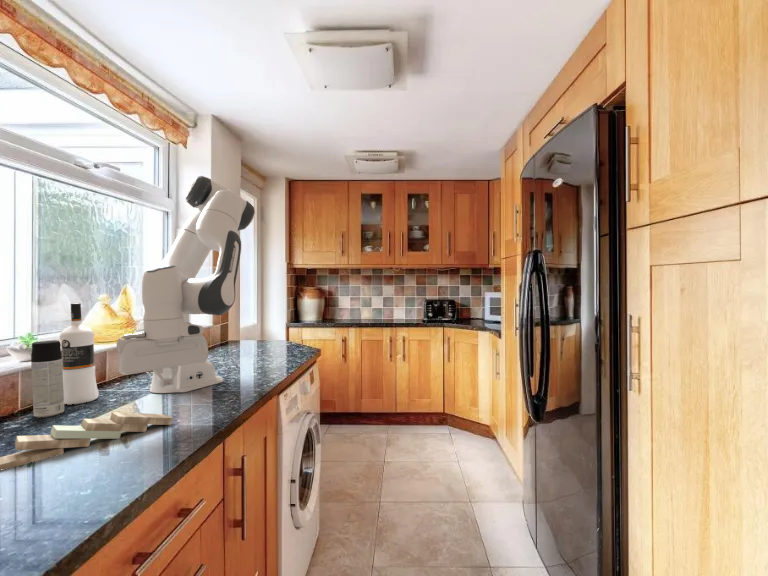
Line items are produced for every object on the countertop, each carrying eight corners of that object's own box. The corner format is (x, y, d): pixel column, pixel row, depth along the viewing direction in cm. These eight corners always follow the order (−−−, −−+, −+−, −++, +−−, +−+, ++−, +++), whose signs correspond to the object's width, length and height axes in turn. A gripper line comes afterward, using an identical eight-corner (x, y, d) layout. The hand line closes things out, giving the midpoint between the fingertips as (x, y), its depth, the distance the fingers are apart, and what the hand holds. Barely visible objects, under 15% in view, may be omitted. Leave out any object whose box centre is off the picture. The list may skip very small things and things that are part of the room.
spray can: (62, 408, 120) (59, 339, 120) (66, 413, 115) (62, 341, 115) (32, 414, 116) (28, 342, 115) (35, 419, 111) (31, 344, 110)
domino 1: (58, 442, 90) (-20, 462, 81) (63, 448, 87) (-17, 468, 78) (58, 450, 90) (-19, 470, 81) (63, 455, 87) (-17, 477, 78)
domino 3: (115, 426, 98) (52, 425, 90) (121, 431, 95) (56, 430, 86) (113, 433, 98) (50, 433, 90) (119, 438, 94) (54, 438, 86)
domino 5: (165, 414, 106) (111, 412, 98) (172, 418, 103) (118, 416, 94) (163, 420, 106) (109, 419, 97) (171, 424, 103) (116, 423, 94)
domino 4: (141, 420, 102) (83, 418, 94) (147, 424, 99) (88, 423, 90) (139, 427, 102) (81, 425, 93) (145, 431, 98) (86, 430, 90)
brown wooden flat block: (86, 433, 94) (16, 435, 86) (90, 438, 90) (18, 441, 82) (84, 441, 94) (14, 444, 86) (89, 446, 90) (16, 450, 82)
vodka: (105, 397, 131) (101, 301, 130) (74, 406, 122) (69, 303, 122) (85, 395, 134) (81, 302, 134) (54, 404, 126) (48, 304, 125)
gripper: (120, 336, 94) (123, 397, 94) (209, 326, 109) (212, 379, 110) (112, 334, 98) (115, 393, 99) (199, 325, 114) (201, 376, 114)
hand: (166, 385), depth 104 cm, fingers closed
